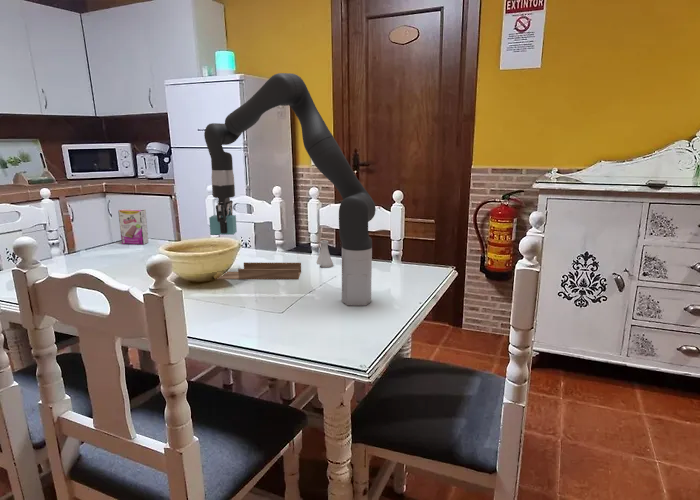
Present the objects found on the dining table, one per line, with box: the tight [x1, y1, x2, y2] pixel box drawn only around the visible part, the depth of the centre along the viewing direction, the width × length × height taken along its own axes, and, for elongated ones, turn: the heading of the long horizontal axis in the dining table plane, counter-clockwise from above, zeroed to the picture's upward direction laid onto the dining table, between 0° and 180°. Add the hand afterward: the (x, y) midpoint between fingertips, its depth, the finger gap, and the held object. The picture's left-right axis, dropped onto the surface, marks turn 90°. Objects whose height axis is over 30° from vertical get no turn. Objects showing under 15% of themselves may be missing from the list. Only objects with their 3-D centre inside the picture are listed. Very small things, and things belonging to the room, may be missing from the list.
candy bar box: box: [118, 208, 149, 246], centre depth 226 cm, size 11×5×16 cm, turn 84°
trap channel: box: [216, 262, 302, 280], centre depth 172 cm, size 10×31×5 cm, turn 90°
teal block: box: [208, 214, 238, 236], centre depth 168 cm, size 5×8×6 cm, turn 90°
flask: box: [315, 239, 334, 268], centre depth 190 cm, size 7×7×10 cm
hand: (226, 231), depth 169 cm, fingers closed on teal block, 5 cm apart
